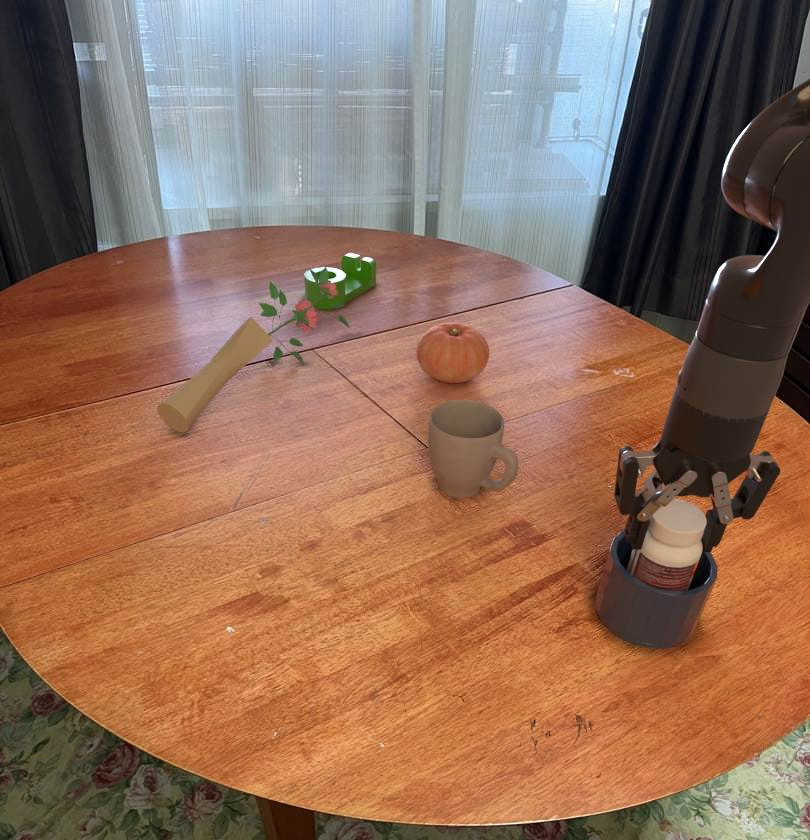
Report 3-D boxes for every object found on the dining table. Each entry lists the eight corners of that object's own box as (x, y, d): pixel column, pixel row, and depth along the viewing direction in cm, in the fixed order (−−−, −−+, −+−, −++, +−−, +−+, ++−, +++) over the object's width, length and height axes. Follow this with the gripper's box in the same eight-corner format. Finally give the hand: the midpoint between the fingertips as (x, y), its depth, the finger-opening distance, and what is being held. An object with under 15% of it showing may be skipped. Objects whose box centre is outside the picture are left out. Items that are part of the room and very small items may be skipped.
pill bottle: (689, 620, 76) (725, 534, 69) (631, 624, 76) (661, 538, 68) (665, 578, 81) (696, 493, 74) (610, 582, 80) (636, 496, 73)
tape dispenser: (330, 312, 131) (330, 286, 128) (297, 302, 134) (296, 276, 131) (377, 285, 141) (377, 260, 138) (345, 276, 144) (345, 251, 141)
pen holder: (679, 579, 83) (699, 526, 78) (707, 651, 75) (732, 597, 71) (586, 576, 83) (601, 523, 78) (605, 647, 75) (623, 593, 70)
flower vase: (176, 464, 108) (306, 324, 126) (236, 471, 101) (365, 322, 120) (129, 396, 100) (276, 259, 119) (191, 399, 94) (336, 252, 112)
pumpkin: (474, 357, 121) (480, 309, 116) (495, 391, 113) (502, 341, 108) (408, 361, 119) (411, 312, 114) (424, 396, 111) (427, 345, 106)
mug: (409, 485, 94) (413, 418, 88) (453, 456, 99) (460, 391, 93) (487, 528, 88) (498, 460, 82) (529, 495, 94) (542, 428, 87)
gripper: (648, 412, 59) (602, 569, 70) (829, 419, 60) (756, 574, 71) (627, 366, 65) (587, 518, 76) (792, 372, 65) (729, 523, 76)
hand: (669, 544), depth 73 cm, fingers closed on pill bottle, 6 cm apart
